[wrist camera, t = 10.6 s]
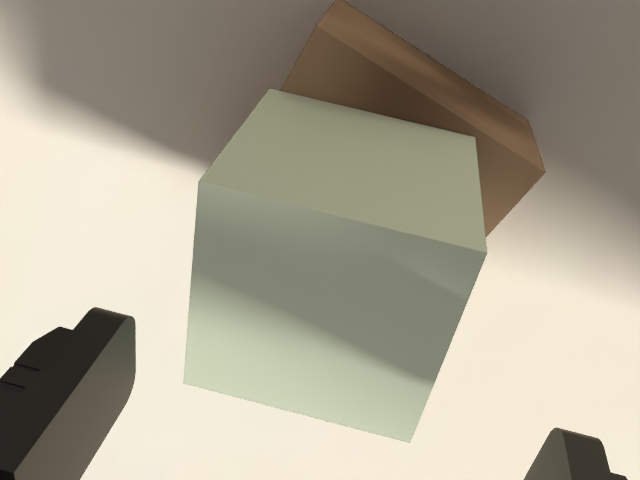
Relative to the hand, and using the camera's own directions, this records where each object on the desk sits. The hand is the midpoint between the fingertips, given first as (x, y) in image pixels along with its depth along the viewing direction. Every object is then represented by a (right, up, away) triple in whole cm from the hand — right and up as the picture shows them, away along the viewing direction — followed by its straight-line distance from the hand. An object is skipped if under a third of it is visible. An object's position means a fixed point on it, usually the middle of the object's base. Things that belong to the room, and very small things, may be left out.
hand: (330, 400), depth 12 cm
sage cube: (+1, +4, +6) cm, 7 cm away
